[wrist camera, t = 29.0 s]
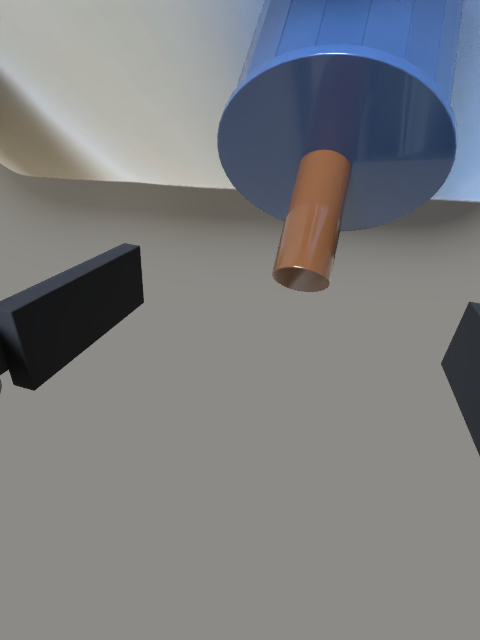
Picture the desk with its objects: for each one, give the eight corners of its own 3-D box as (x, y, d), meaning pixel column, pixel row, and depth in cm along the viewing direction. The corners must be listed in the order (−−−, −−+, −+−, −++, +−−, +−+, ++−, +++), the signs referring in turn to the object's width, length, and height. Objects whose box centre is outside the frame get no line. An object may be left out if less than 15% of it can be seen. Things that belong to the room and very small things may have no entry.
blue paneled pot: (228, 12, 24) (185, 130, 21) (417, -187, 15) (385, -23, 12) (323, 136, 32) (301, 233, 29) (485, 57, 23) (474, 188, 20)
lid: (179, 122, 22) (135, 242, 19) (398, -53, 12) (359, 151, 9) (301, 232, 30) (280, 323, 28) (485, 186, 20) (476, 321, 18)
